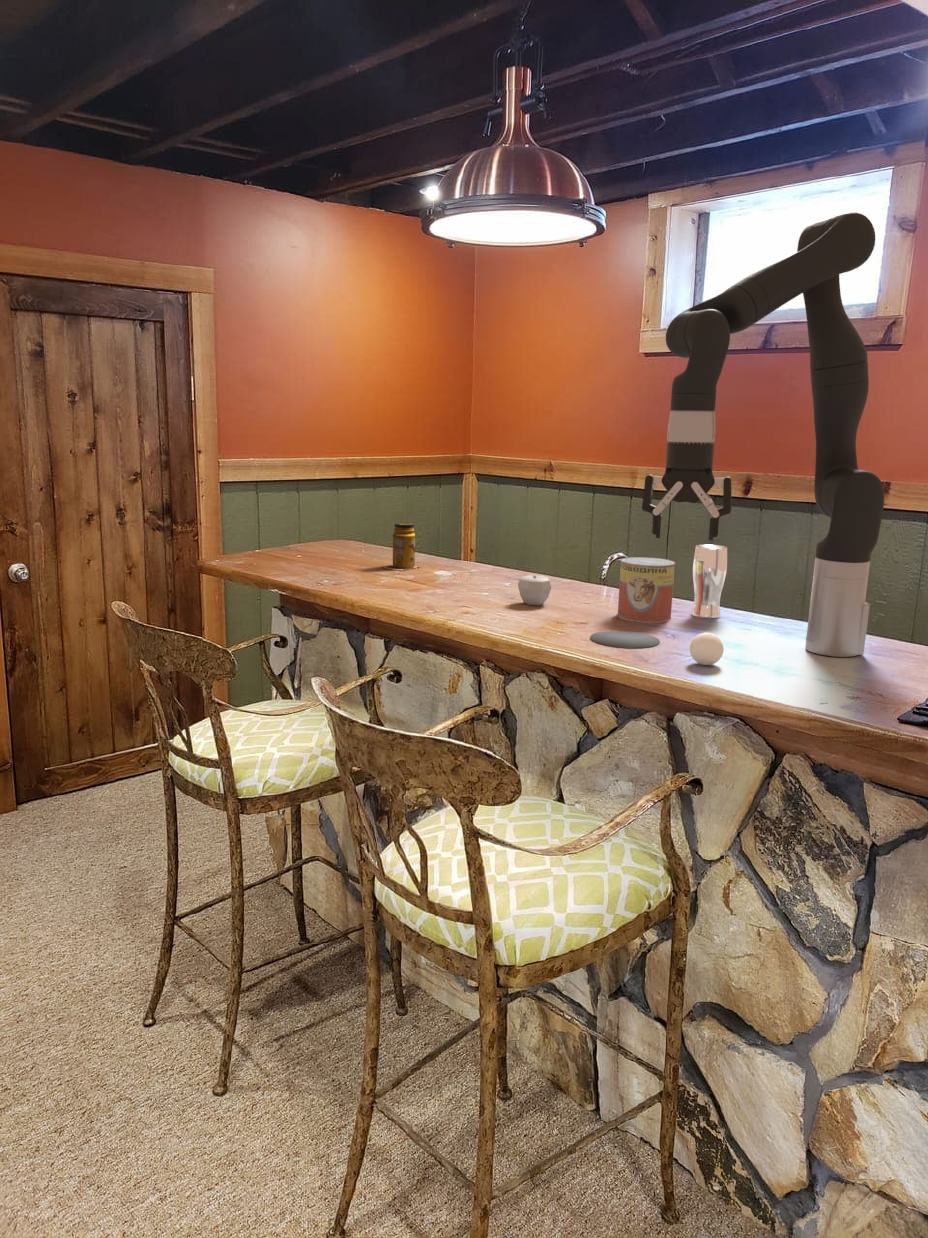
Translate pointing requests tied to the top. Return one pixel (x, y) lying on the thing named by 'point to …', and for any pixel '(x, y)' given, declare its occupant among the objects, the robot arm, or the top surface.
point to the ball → (706, 648)
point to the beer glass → (708, 579)
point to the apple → (534, 589)
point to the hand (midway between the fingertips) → (684, 538)
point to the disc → (624, 639)
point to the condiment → (403, 547)
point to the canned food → (646, 589)
